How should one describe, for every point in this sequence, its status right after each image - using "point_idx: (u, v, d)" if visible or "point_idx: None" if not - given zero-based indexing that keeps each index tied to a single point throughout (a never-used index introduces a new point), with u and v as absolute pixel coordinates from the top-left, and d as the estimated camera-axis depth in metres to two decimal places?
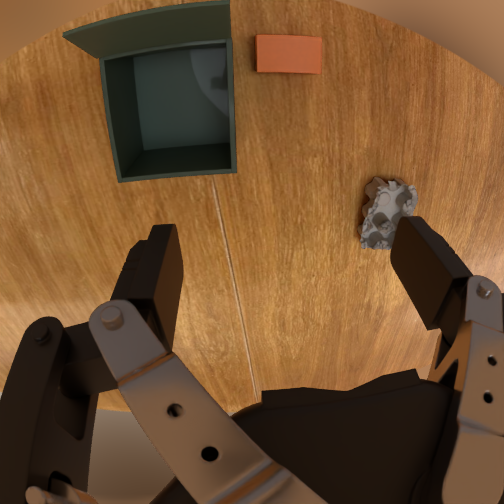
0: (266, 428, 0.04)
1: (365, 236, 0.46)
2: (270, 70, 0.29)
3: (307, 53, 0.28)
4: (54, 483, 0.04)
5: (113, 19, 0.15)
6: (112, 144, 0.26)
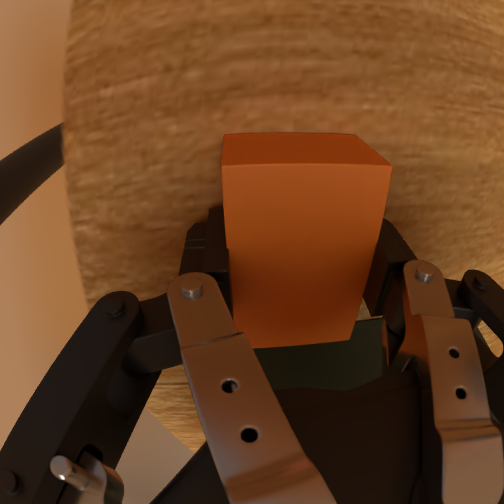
0: None
1: None
2: (352, 316, 0.11)
3: (302, 222, 0.08)
4: (85, 456, 0.04)
5: None
6: None
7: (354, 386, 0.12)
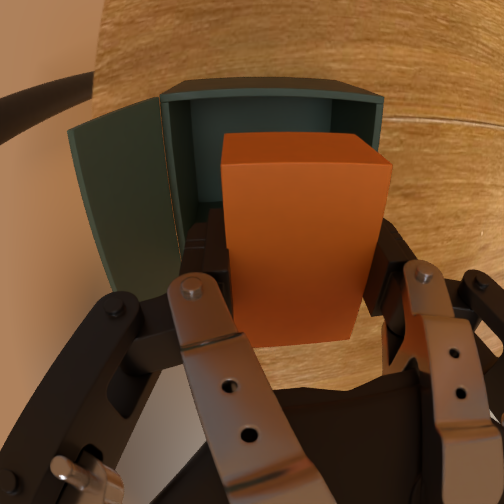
0: None
1: None
2: (352, 316, 0.11)
3: (302, 221, 0.08)
4: (85, 456, 0.04)
5: (113, 285, 0.14)
6: None
7: (235, 80, 0.20)
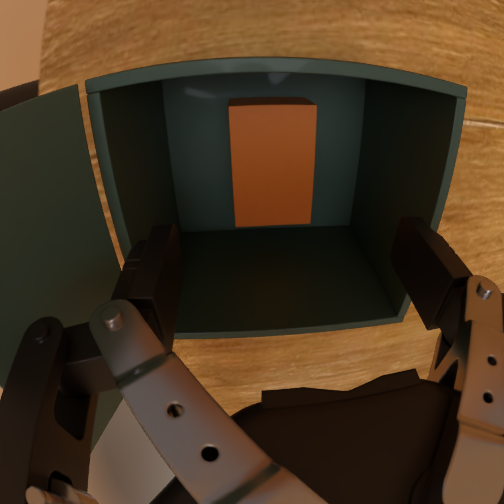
0: (266, 428, 0.04)
1: None
2: (308, 202, 0.17)
3: (270, 135, 0.15)
4: (54, 483, 0.04)
5: None
6: (331, 328, 0.15)
7: None
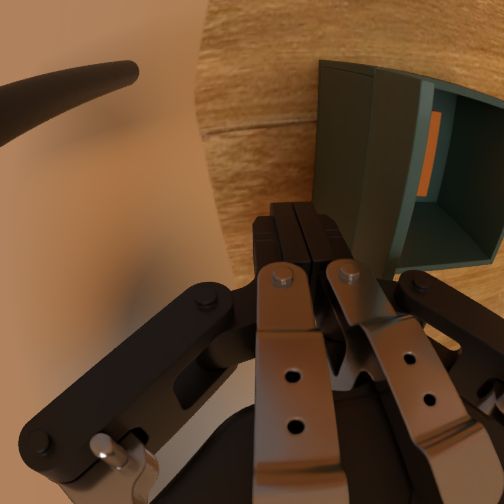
0: None
1: None
2: (427, 180, 0.21)
3: None
4: (130, 438, 0.05)
5: None
6: (457, 266, 0.18)
7: None
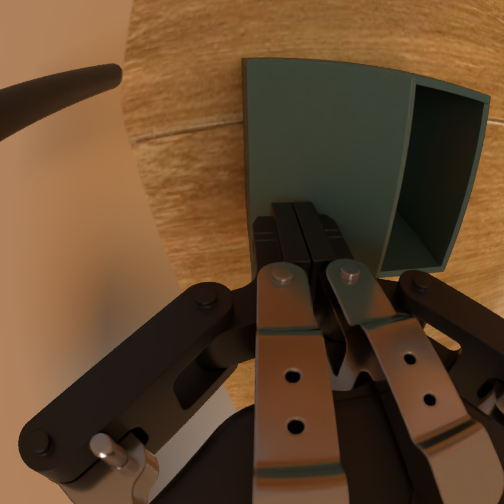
0: None
1: None
2: None
3: None
4: (130, 438, 0.05)
5: None
6: (395, 274, 0.18)
7: (316, 59, 0.15)
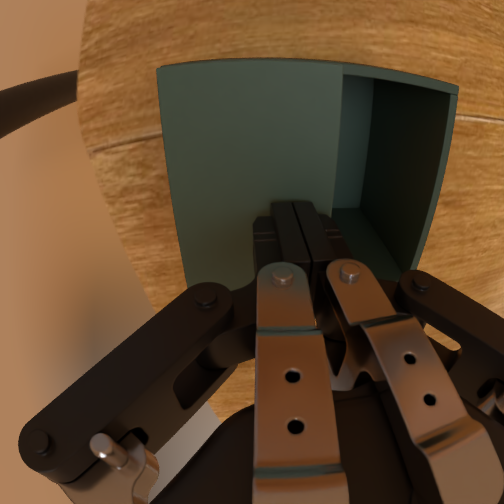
0: None
1: None
2: None
3: None
4: (130, 438, 0.05)
5: None
6: None
7: None
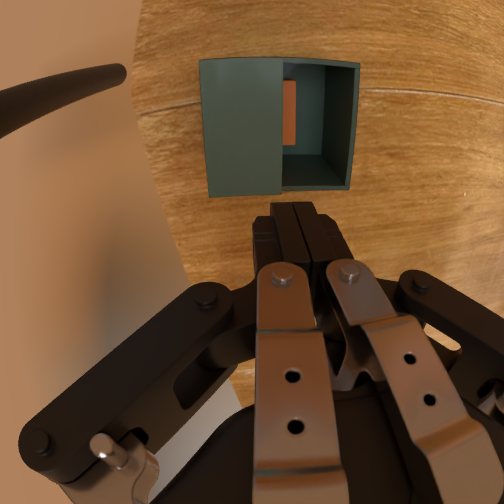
0: None
1: None
2: (293, 132, 0.30)
3: None
4: (130, 438, 0.05)
5: (282, 149, 0.25)
6: (307, 188, 0.28)
7: None
